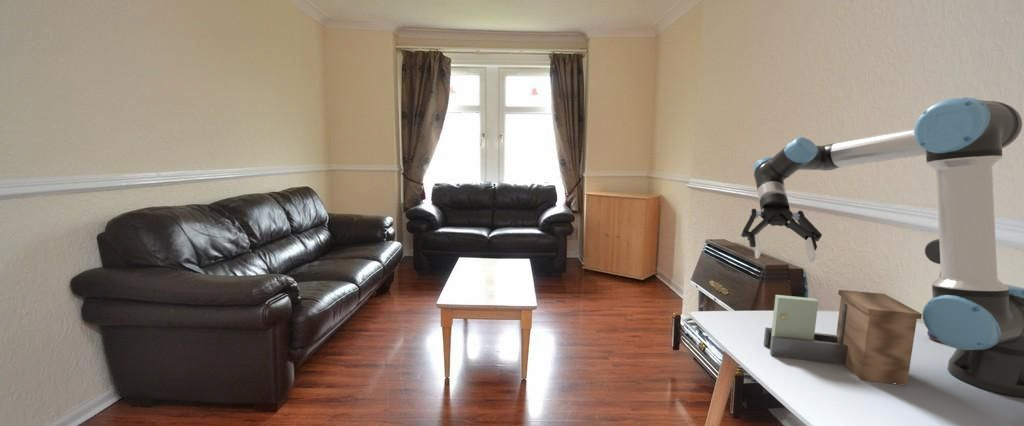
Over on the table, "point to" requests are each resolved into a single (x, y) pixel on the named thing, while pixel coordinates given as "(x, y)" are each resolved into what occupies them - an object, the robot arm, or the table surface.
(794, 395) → the table surface
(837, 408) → the table surface
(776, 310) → the cabinet door
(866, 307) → the walnut cabinet
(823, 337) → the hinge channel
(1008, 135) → the robot arm
